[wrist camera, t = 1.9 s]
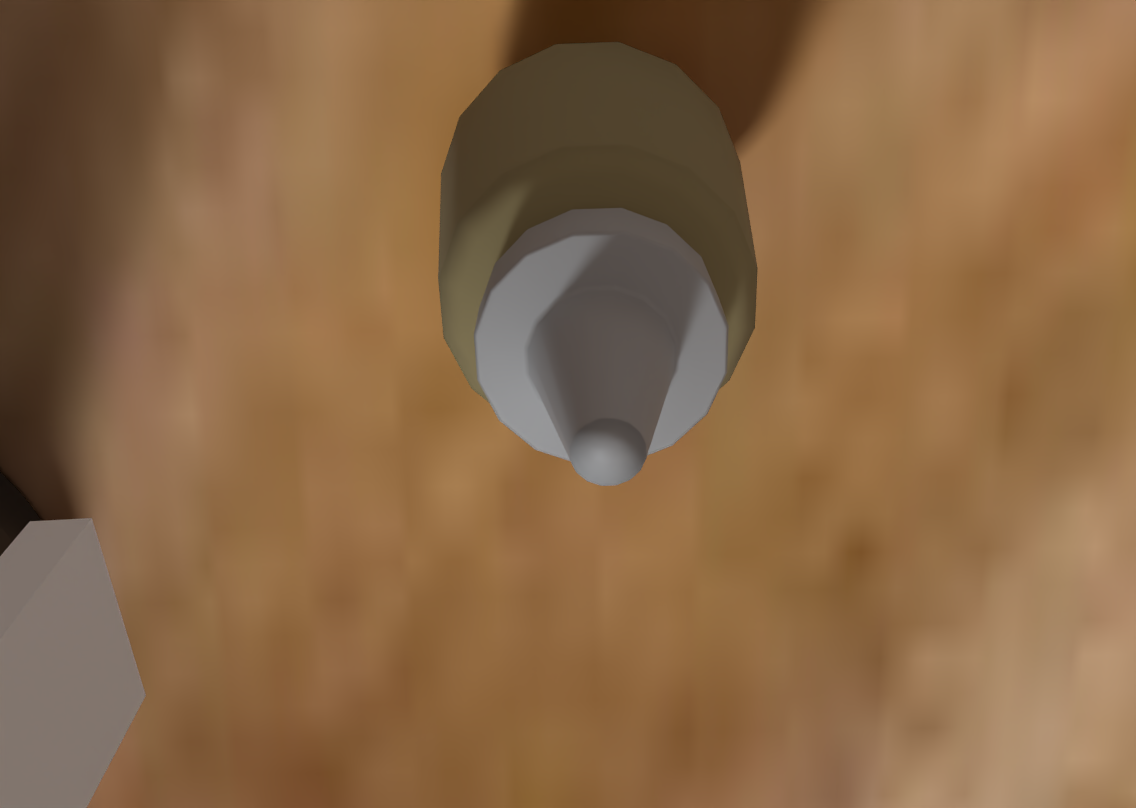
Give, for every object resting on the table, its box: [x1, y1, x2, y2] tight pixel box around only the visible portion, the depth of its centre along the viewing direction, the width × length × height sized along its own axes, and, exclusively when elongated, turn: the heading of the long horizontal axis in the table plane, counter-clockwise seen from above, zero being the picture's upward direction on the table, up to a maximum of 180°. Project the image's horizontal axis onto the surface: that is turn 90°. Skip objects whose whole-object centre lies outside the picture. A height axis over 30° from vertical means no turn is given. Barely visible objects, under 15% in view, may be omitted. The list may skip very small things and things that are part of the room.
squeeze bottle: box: [438, 42, 757, 486], centre depth 24 cm, size 8×8×18 cm
